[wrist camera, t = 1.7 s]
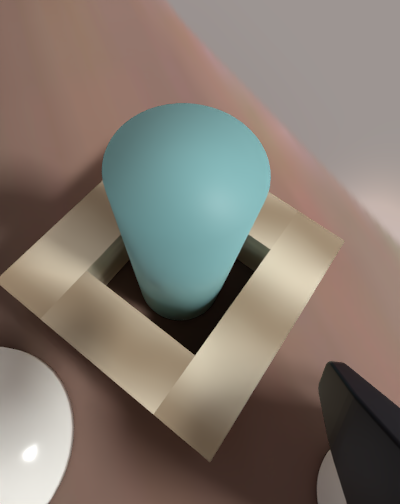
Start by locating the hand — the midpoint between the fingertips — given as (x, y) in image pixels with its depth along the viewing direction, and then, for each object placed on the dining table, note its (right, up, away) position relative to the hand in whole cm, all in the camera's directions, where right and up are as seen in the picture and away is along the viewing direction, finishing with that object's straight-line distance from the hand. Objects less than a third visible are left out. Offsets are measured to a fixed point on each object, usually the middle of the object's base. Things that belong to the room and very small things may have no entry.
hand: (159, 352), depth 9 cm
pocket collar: (0, +1, +13) cm, 13 cm away
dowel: (0, +1, +13) cm, 13 cm away
